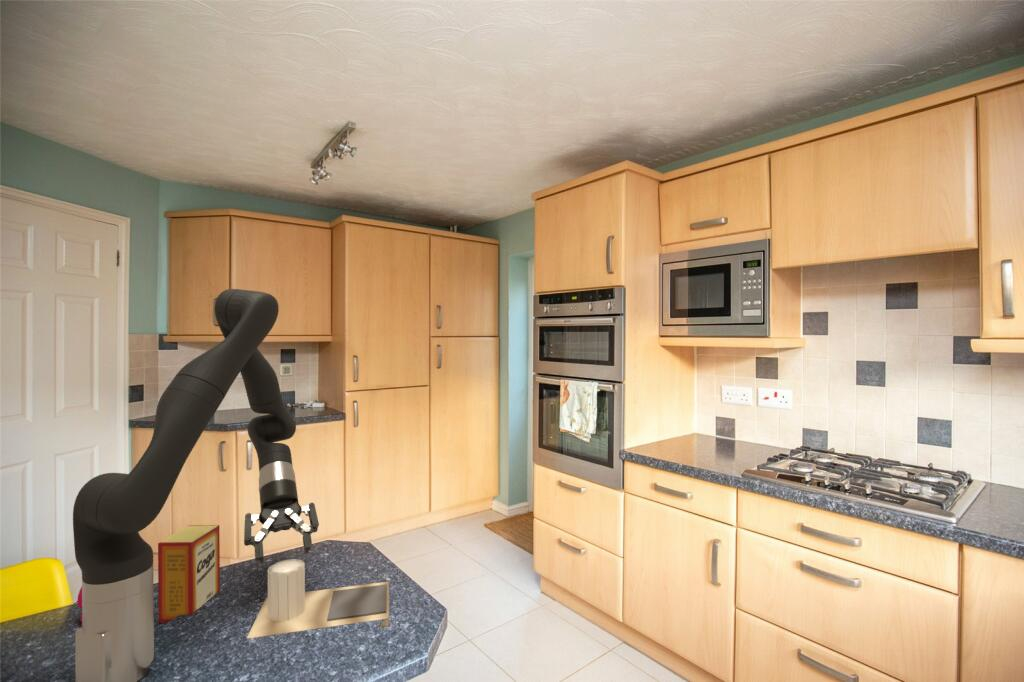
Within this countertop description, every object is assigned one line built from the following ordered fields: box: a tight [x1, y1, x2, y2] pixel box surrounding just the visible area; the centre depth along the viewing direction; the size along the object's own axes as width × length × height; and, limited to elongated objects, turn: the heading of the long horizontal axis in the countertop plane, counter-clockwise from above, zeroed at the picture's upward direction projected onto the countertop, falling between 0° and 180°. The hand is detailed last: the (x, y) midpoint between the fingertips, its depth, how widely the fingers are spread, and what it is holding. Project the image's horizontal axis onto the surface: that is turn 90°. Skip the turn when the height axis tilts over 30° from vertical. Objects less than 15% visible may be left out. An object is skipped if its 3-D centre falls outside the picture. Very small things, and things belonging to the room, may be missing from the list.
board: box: [246, 581, 390, 640], centre depth 98 cm, size 25×15×2 cm, turn 104°
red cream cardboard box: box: [157, 524, 221, 623], centre depth 101 cm, size 10×6×16 cm
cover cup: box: [267, 558, 306, 621], centre depth 97 cm, size 6×6×9 cm
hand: (284, 556), depth 100 cm, fingers open, 8 cm apart
